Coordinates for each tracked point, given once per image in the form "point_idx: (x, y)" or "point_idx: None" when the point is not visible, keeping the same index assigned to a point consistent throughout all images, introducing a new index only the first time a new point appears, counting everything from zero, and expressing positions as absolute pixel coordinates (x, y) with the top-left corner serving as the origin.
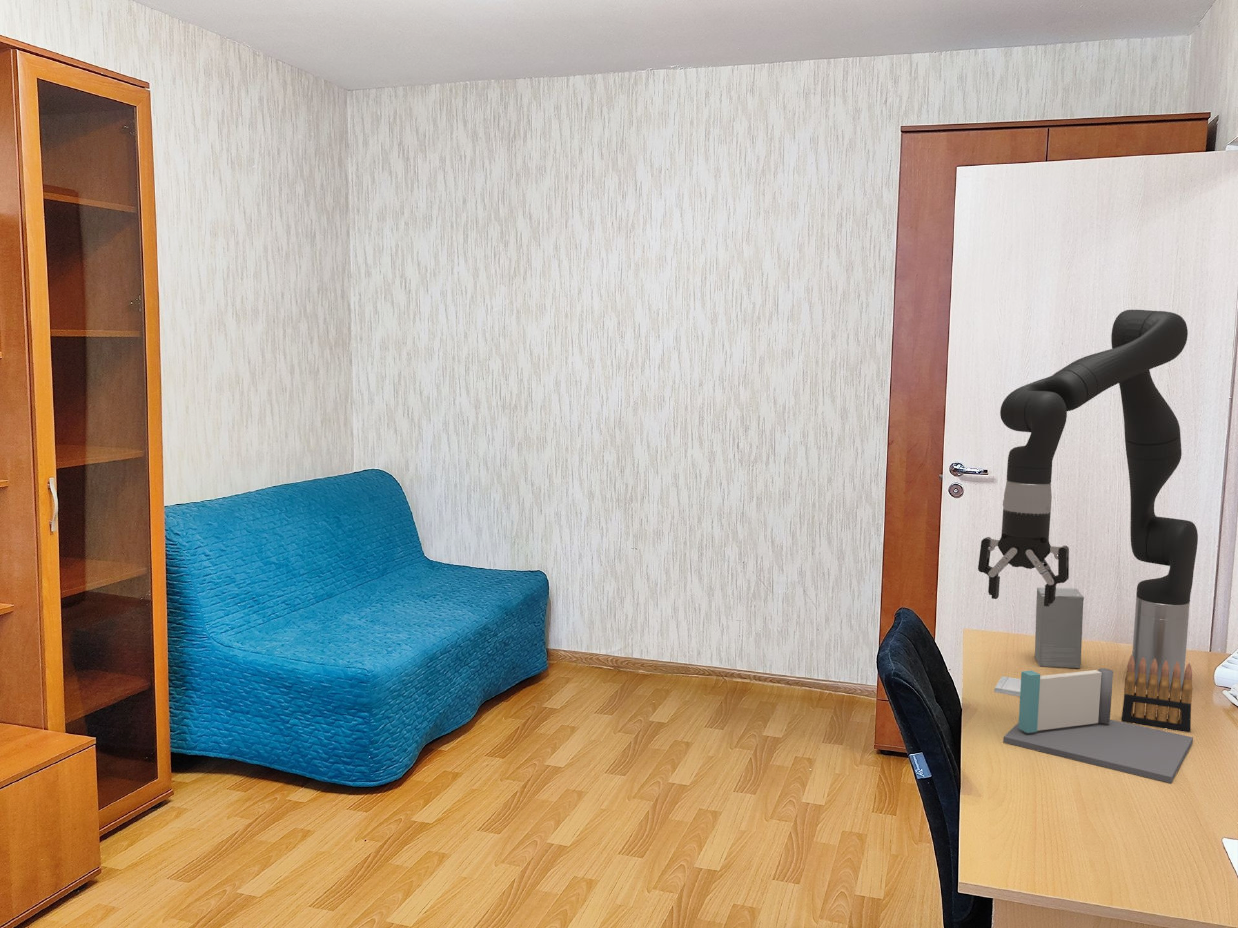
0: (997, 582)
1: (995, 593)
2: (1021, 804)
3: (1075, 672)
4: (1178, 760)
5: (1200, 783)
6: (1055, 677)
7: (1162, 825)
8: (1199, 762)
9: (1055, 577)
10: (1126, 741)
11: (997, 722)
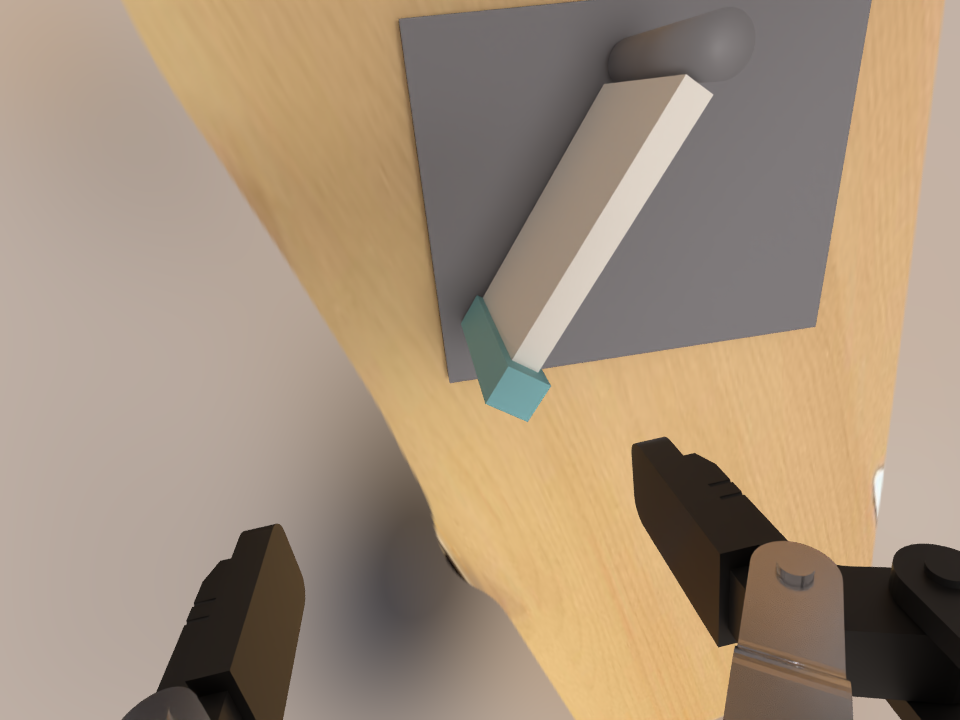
0: (272, 686)
1: (296, 626)
2: (589, 589)
3: (623, 182)
4: (831, 212)
5: (860, 274)
6: (578, 306)
7: (793, 499)
8: (867, 137)
9: (859, 690)
10: (709, 173)
11: (368, 255)
